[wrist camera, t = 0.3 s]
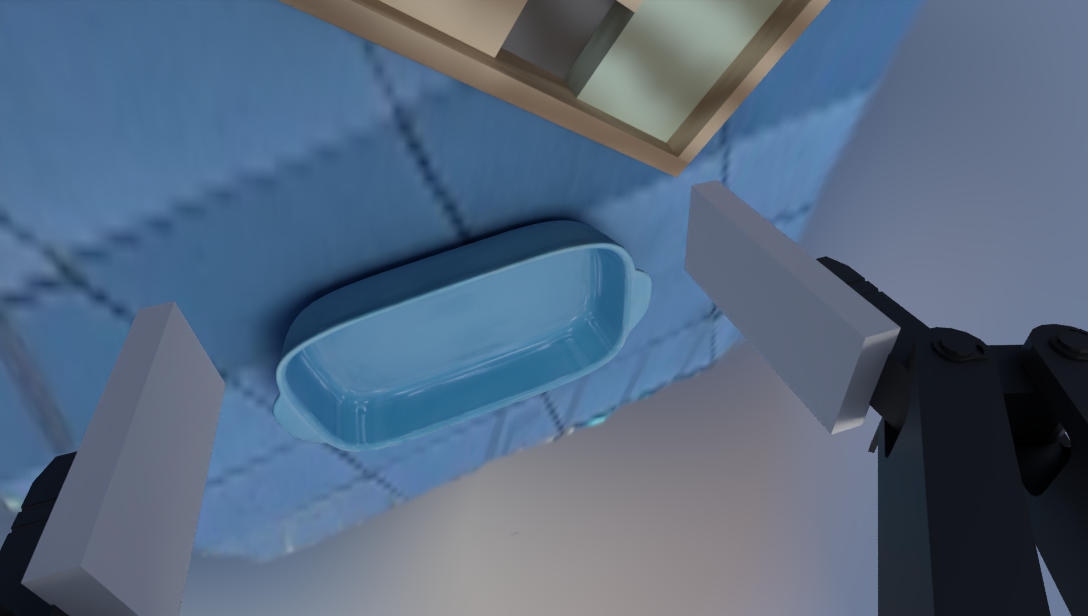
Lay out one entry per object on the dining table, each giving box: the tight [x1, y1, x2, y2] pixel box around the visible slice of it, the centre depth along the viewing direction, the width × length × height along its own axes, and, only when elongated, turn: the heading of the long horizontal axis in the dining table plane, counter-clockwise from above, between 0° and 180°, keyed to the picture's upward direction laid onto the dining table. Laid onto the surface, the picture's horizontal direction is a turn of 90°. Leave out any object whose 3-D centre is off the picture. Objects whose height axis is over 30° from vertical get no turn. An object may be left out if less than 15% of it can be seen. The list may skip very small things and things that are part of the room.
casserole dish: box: [272, 220, 652, 452], centre depth 57 cm, size 37×22×7 cm, turn 95°
